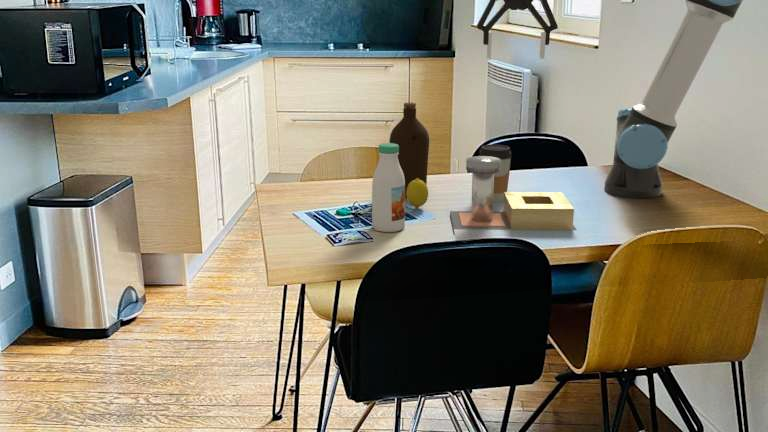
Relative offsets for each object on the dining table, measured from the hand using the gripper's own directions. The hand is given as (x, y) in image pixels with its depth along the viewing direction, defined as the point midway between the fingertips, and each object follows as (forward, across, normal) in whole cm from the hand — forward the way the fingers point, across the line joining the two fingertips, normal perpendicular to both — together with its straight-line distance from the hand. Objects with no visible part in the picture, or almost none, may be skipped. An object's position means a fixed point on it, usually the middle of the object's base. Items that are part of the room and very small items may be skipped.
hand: (515, 58), depth 194 cm
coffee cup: (+37, +5, +8) cm, 38 cm away
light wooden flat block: (+35, -3, +27) cm, 44 cm away
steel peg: (+35, +10, +27) cm, 45 cm away
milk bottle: (+37, +32, +29) cm, 57 cm away
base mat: (+37, +3, +27) cm, 46 cm away
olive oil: (+37, +27, 0) cm, 46 cm away
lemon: (+37, +25, +13) cm, 46 cm away
